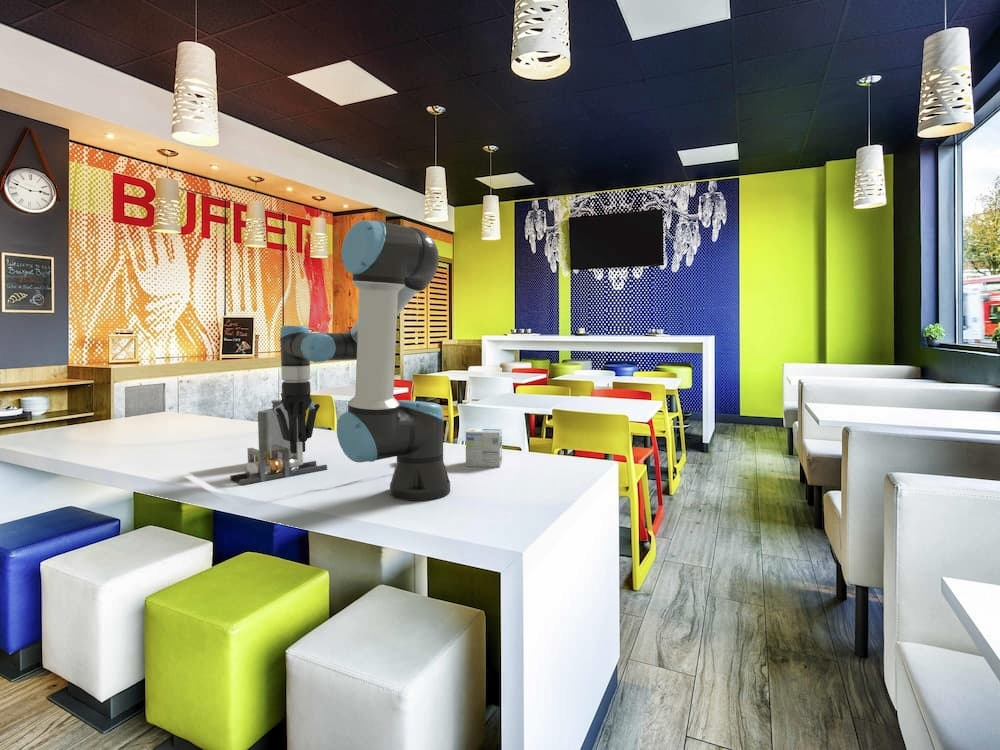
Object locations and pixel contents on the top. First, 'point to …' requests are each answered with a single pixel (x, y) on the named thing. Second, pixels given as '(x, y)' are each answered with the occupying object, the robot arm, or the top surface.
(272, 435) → the hip flask
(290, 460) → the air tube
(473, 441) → the light bulb box
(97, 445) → the top surface
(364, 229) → the robot arm
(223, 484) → the top surface
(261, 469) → the grey metal bracket
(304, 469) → the black base plate
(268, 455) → the aperture plate
